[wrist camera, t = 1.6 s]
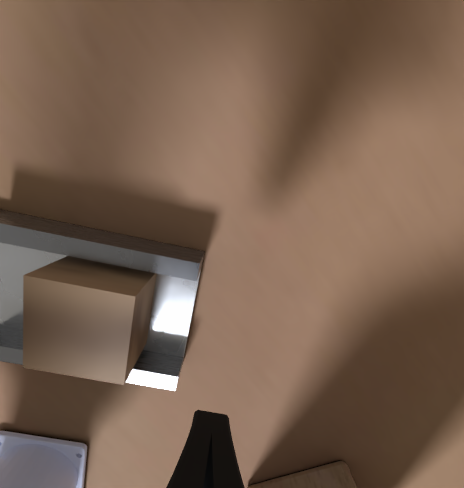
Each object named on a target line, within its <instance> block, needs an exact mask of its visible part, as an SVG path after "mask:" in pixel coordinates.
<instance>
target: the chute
mask: <svg viewBox="0 0 464 488" xmlns="http://www.w3.org/2000/svg"><path fill="white" fill-rule="evenodd" d="M204 253H205V251H200V250H195V249H191V248H186V247H181V246H176V245H171V244H166V243H161V242H156V241H152V240H147V239H142V238H137V237H132V236H127V235H122V234H117V233H113V232H108V231H103V230H98V229H93V228H88V227H83V226H78V225H74V224H69V223H64V222H59V221H54V220H49V219H44V218H39V217H35V216H30V215H25V214H20V213H15V212H10V211H5V210H0V361H3V362H9V363H15V364H21V365H23V275H25V274H27V273H30V272H32V271H34V270H36V269H39V268H41V267H43V266H46V265H48V264H50V263H53V262H55V261H57V260H59V259H62V258H64V257H66V256H71V257H76V258H81V259H86V260H91V261H96V262H101V263H106V264H112V265H117V266H122V267H127V268H132V269H137V270H142V271H147V272H152V273H157V276H156V283H155V290H154V296H153V303H152V310H151V316H150V323H149V330H148V337H147V343H146V345H145V347H144V349H143V350H142V352H141V354H140V356H139V358H138V360H137V362H136V364H135V365H134V367H133V369H132V371H131V373H130V375H129V377H128V379H127V380H126V383H132V384H138V385H144V386H150V387H156V388H162V389H167V390H173V391H176V387H177V383H178V379H179V376H180V372H181V368H182V365H183V360H184V355H185V350H186V345H187V340H188V335H189V329H190V324H191V319H192V314H193V309H194V304H195V299H196V294H197V289H198V283H199V278H200V273H201V268H202V263H203V258H204Z"/></svg>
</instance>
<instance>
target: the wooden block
mask: <svg viewBox="0 0 464 488" xmlns="http://www.w3.org/2000/svg"><path fill="white" fill-rule="evenodd" d="M248 488H357V487H356V484H355V482H354V479H353V477H352V475H351V472H350V470H349V467H348V466H347V465H346V463H345V462H344V461H338V462H335V463H331V464H327V465H324V466H320V467H316V468H313V469H309V470H305V471H302V472H298V473H294V474H291V475H287V476H283V477H280V478H276V479H272V480H269V481H265V482H261V483H258V484H254V485H250V486H249V487H248Z"/></svg>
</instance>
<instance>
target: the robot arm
mask: <svg viewBox="0 0 464 488" xmlns="http://www.w3.org/2000/svg"><path fill="white" fill-rule="evenodd" d="M86 456H87V446H86V444H84V443H79V442H73V441H66V440H60V439H53V438H47V437H41V436H34V435H28V434H21V433H15V432H8V431H0V488H84V478H85V467H86ZM166 488H244V485H243V481H242V478H241V474H240V470H239V466H238V463H237V459H236V455H235V450H234V446H233V441H232V436H231V431H230V425H229V417H228V416H227V415H225V414H219V413H213V412H207V411H201V410H197V411H195V413H194V417H193V422H192V426H191V429H190V433H189V436H188V438H187V441H186V444H185V446H184V449H183V451H182V454H181V456H180V459H179V461H178V463H177V466H176V468H175V470H174V473H173V475H172V477H171V479H170V481H169V483H168V485H167V487H166Z"/></svg>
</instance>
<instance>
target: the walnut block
mask: <svg viewBox="0 0 464 488" xmlns="http://www.w3.org/2000/svg"><path fill="white" fill-rule="evenodd" d="M156 276H157V273H152V272H147V271H142V270H137V269H132V268H127V267H122V266H117V265H112V264H106V263H101V262H96V261H91V260H86V259H81V258H76V257H71V256H66V257H64V258H62V259H59V260H57V261H55V262H53V263H50V264H48V265H46V266H43V267H41V268H39V269H36V270H34V271H32V272H30V273H27V274H25V275H23V368H27V369H33V370H38V371H44V372H50V373H56V374H62V375H68V376H74V377H80V378H86V379H91V380H97V381H103V382H109V383H115V384H121V385H124V384H125V382H126V380H127V379H128V377H129V375H130V373H131V371H132V369H133V367H134V365H135V364H136V362H137V360H138V358H139V356H140V354H141V352H142V350H143V349H144V347H145V345H146V343H147V337H148V330H149V323H150V316H151V310H152V303H153V296H154V290H155V283H156Z"/></svg>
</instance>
